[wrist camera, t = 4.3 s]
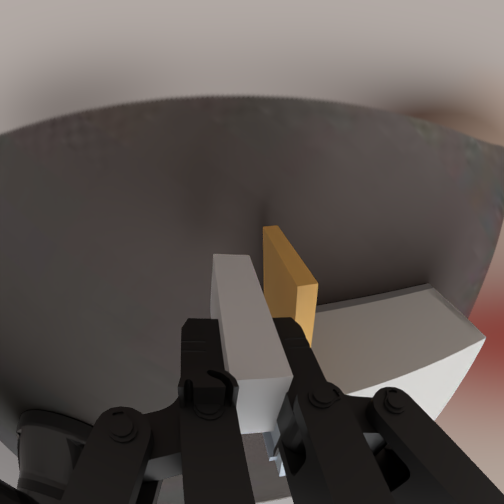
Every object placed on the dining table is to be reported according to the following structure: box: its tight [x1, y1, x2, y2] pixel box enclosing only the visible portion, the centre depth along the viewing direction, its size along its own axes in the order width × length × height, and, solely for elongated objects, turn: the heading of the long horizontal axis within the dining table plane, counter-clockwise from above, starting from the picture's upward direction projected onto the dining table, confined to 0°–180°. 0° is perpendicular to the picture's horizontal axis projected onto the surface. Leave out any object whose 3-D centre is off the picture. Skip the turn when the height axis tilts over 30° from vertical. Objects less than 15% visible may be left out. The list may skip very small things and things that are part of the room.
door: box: [262, 225, 318, 476], centre depth 17 cm, size 2×19×8 cm, turn 2°
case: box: [311, 283, 486, 420], centre depth 20 cm, size 14×12×8 cm
